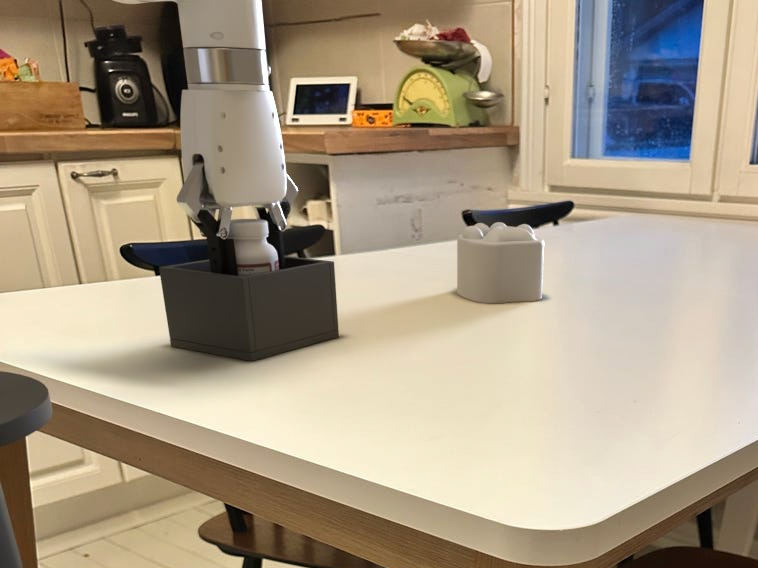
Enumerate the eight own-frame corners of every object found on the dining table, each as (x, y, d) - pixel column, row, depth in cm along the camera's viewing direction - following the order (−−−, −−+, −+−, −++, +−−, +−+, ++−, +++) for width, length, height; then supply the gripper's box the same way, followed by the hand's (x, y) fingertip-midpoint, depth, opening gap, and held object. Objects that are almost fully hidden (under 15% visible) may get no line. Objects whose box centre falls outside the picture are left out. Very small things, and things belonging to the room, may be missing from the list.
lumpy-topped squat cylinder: (479, 304, 119) (480, 231, 114) (443, 288, 129) (443, 220, 125) (551, 299, 122) (554, 228, 118) (510, 284, 133) (512, 218, 128)
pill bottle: (248, 325, 102) (236, 216, 96) (296, 330, 100) (286, 219, 94) (214, 336, 97) (199, 222, 91) (263, 342, 95) (251, 225, 89)
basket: (251, 361, 91) (242, 278, 87) (170, 346, 97) (158, 267, 93) (339, 336, 101) (334, 261, 97) (261, 324, 107) (254, 252, 103)
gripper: (262, 76, 95) (279, 262, 104) (126, 70, 82) (159, 283, 91) (318, 76, 91) (331, 269, 100) (185, 69, 78) (213, 291, 87)
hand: (249, 274), depth 95 cm, fingers closed on pill bottle, 6 cm apart
